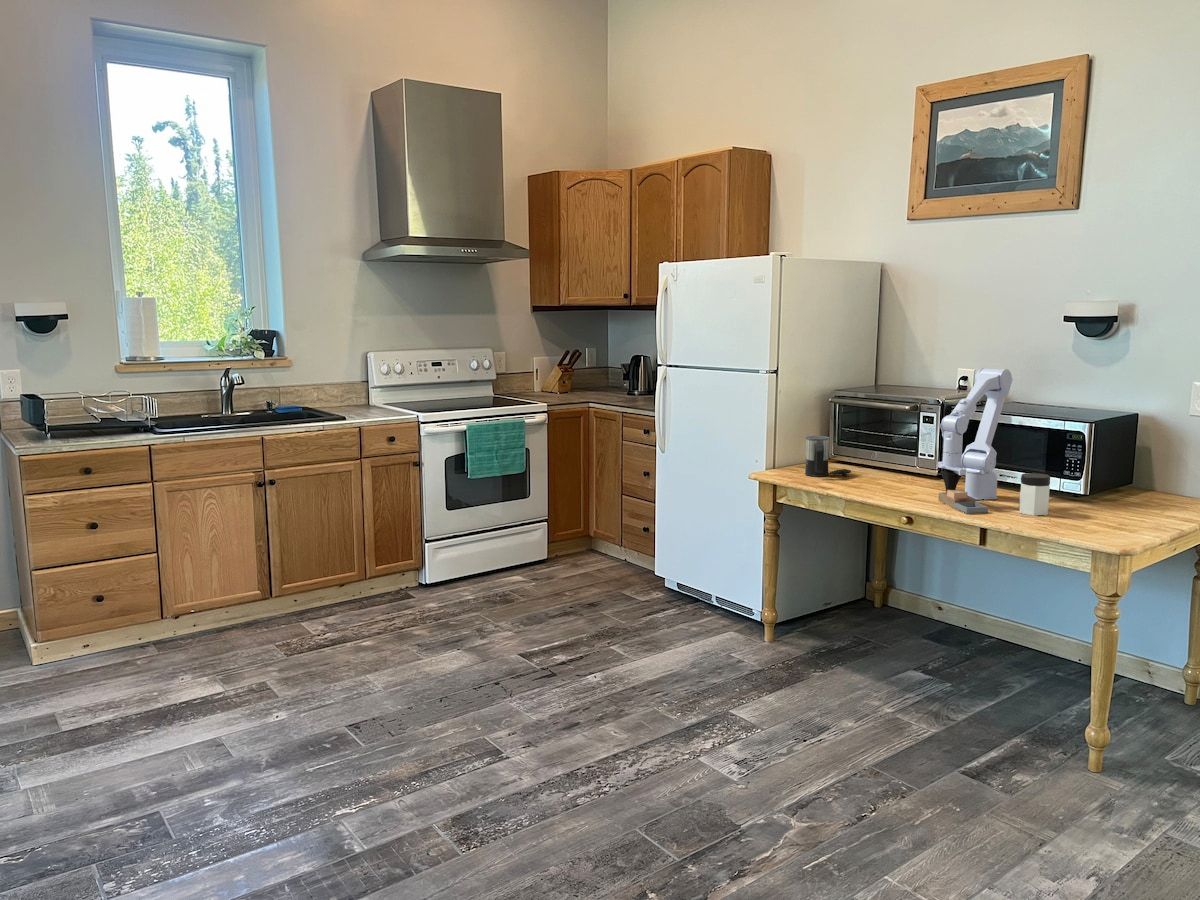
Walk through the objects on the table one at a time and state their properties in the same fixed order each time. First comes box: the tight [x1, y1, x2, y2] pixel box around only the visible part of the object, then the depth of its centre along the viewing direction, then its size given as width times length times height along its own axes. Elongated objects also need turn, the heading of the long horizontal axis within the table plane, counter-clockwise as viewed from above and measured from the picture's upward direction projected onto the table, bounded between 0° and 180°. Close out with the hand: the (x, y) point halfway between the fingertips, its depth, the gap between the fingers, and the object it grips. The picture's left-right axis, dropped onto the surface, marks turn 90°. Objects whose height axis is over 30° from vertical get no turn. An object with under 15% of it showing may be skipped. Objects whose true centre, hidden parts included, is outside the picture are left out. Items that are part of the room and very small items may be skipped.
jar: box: [1018, 472, 1051, 517], centre depth 271 cm, size 9×8×12 cm
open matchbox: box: [938, 491, 976, 509], centre depth 284 cm, size 7×10×3 cm, turn 6°
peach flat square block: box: [947, 488, 968, 499], centre depth 282 cm, size 4×4×2 cm
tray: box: [953, 501, 989, 515], centre depth 275 cm, size 7×8×2 cm
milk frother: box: [804, 435, 852, 477], centre depth 334 cm, size 14×16×15 cm
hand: (950, 492), depth 285 cm, fingers closed
